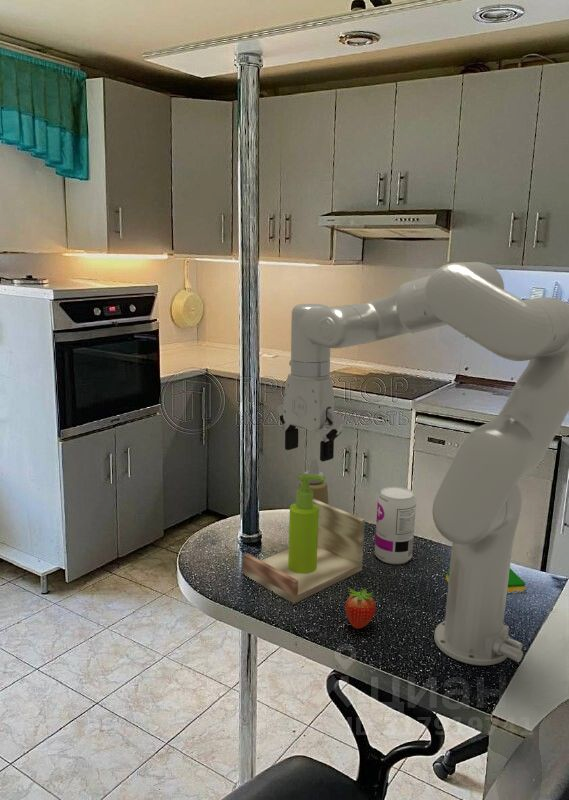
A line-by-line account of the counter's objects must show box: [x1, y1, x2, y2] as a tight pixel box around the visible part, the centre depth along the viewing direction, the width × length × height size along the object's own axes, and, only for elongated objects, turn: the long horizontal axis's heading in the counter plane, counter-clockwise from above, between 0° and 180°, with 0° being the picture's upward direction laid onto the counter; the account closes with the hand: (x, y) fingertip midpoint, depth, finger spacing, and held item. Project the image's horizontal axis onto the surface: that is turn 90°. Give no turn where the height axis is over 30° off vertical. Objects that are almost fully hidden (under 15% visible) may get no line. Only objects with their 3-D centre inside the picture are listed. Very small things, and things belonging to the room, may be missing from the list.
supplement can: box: [374, 486, 417, 565], centre depth 143 cm, size 8×8×15 cm
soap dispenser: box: [288, 473, 326, 574], centre depth 134 cm, size 6×7×20 cm
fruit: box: [344, 587, 377, 630], centre depth 117 cm, size 5×5×8 cm
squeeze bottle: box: [298, 457, 330, 505], centre depth 155 cm, size 8×8×18 cm
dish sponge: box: [445, 568, 526, 592], centre depth 133 cm, size 7×14×2 cm, turn 99°
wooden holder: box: [242, 499, 366, 605], centre depth 136 cm, size 15×20×12 cm
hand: (308, 454), depth 131 cm, fingers open, 9 cm apart
